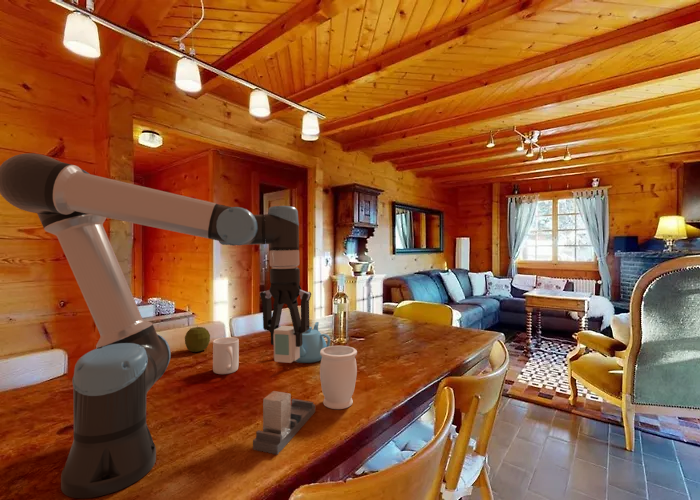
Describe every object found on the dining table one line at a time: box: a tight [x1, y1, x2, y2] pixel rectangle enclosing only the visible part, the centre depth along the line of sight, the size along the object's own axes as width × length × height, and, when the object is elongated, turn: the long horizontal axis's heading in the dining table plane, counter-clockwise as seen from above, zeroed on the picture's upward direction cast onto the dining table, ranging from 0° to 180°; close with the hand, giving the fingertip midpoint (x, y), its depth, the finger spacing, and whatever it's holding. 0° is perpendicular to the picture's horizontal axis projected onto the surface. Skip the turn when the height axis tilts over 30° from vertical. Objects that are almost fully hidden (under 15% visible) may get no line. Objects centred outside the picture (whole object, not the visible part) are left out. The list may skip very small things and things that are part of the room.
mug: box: [212, 336, 240, 375], centre depth 120 cm, size 9×12×11 cm
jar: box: [319, 345, 358, 410], centre depth 97 cm, size 11×10×15 cm
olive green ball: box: [184, 325, 211, 353], centre depth 144 cm, size 10×10×11 cm
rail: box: [252, 390, 316, 456], centre depth 83 cm, size 20×6×10 cm, turn 162°
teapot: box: [279, 321, 331, 364], centre depth 137 cm, size 17×19×12 cm
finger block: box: [273, 325, 295, 364], centre depth 88 cm, size 5×4×8 cm
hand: (286, 357), depth 88 cm, fingers closed on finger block, 4 cm apart
